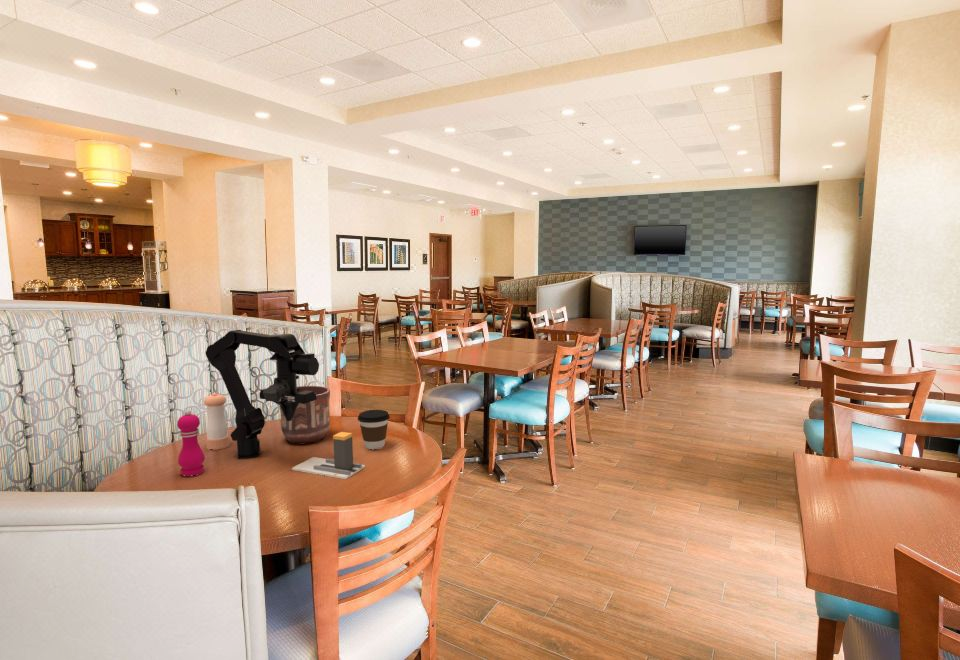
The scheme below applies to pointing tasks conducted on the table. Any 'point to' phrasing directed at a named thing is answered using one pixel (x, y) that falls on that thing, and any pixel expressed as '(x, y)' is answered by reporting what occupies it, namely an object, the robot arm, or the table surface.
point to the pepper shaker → (216, 422)
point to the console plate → (326, 468)
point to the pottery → (308, 418)
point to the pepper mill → (190, 445)
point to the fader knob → (343, 451)
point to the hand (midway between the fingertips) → (289, 420)
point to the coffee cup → (374, 428)
